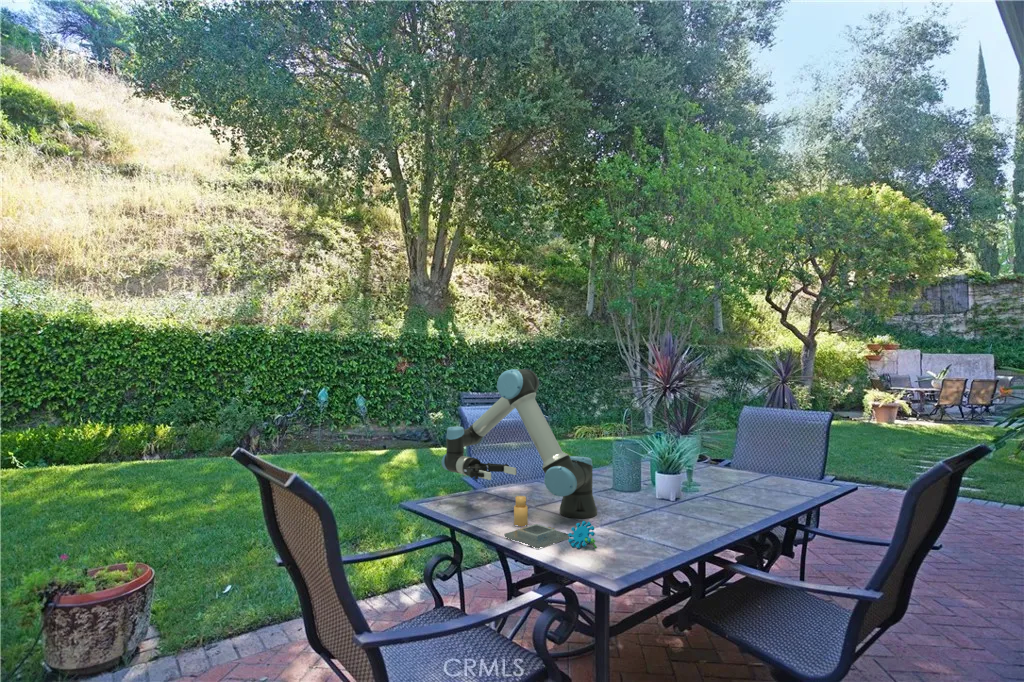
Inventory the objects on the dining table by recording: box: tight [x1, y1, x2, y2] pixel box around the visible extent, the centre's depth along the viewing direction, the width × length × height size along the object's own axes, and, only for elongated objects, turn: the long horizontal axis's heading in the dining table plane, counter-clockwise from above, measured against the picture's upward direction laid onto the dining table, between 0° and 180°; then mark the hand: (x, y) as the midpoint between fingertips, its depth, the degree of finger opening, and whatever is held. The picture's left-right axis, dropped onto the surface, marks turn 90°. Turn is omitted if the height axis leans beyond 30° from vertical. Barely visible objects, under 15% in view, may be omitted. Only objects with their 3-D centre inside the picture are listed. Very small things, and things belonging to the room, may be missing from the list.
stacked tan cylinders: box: [513, 495, 529, 526], centre depth 205 cm, size 5×5×10 cm
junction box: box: [503, 523, 570, 549], centre depth 189 cm, size 16×16×3 cm
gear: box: [567, 520, 598, 550], centre depth 182 cm, size 11×6×10 cm
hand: (503, 473), depth 212 cm, fingers open, 13 cm apart
